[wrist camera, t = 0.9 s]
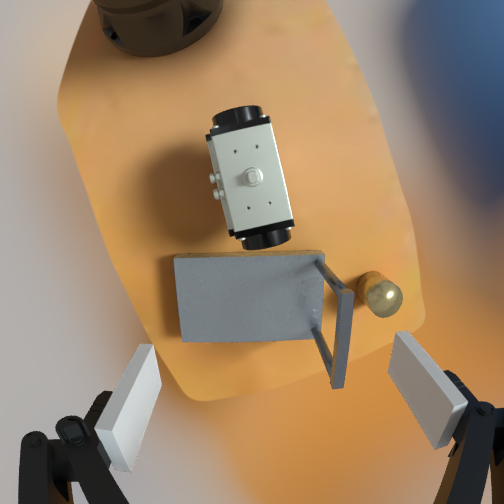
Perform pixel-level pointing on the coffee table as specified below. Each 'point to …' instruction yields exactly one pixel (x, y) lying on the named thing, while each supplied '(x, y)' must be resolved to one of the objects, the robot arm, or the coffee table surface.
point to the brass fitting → (379, 294)
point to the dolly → (262, 301)
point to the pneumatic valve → (249, 178)
